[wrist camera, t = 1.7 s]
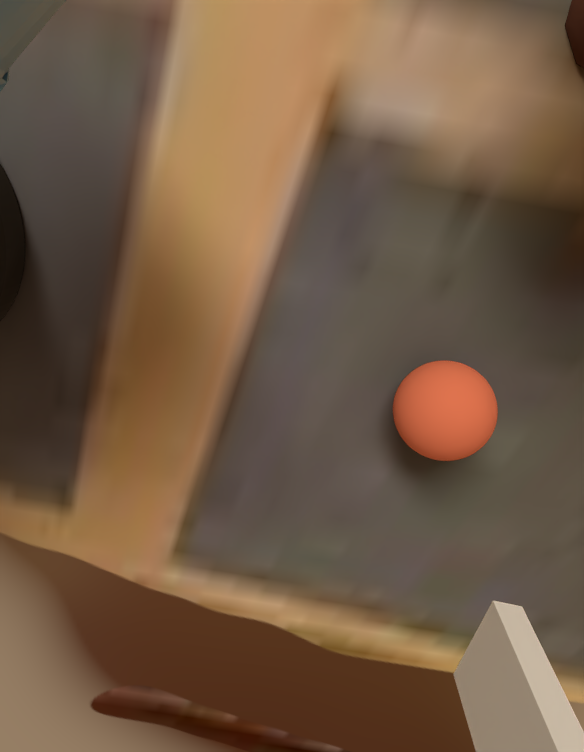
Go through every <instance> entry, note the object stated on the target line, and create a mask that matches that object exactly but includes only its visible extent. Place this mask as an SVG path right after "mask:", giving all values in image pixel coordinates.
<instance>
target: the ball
mask: <svg viewBox="0 0 584 752" xmlns="http://www.w3.org/2000/svg"><path fill="white" fill-rule="evenodd" d="M497 415H498V409H497V402H496V398H495V395H494V392H493V390H492V388H491V387H490V385H489V383H488V382H487V381H486V379H485V378H484V377H483V376H482V375H480V374H479V373H478V372H477V371H476V370H474V369H473V368H471V367H469V366H467V365H465V364H462V363H459V362H454V361H434V362H430V363H427V364H424V365H422V366H420V367H418V368H416V369H414V370H413V371H412V372H410V373H409V374H408V375H407V376H406V377H405V378H404V380H403V381H402V382H401V384H400V386H399V387H398V389H397V392H396V394H395V397H394V403H393V417H394V422H395V425H396V428H397V430H398V432H399V434H400V436H401V437H402V439H403V440H404V441H405V442H406V444H407V445H408V446H409V447H410V448H412V449H413V450H414V451H416V452H417V453H419V454H421V455H423V456H425V457H428V458H431V459H434V460H440V461H452V460H458V459H462V458H465V457H468V456H470V455H472V454H474V453H475V452H477V451H478V450H479V449H480V448H482V447H483V446H484V445H485V443H486V442H487V441H488V440H489V438H490V437H491V435H492V433H493V431H494V429H495V426H496V422H497Z"/></svg>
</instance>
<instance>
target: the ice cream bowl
mask: <svg viewBox="0 0 584 752" xmlns="http://www.w3.org/2000/svg"><path fill="white" fill-rule="evenodd" d="M565 27H566V30H567V34H568V37H569V40H570V44H571V47H572V50H573V54H574V57H575V60H576V63H577V64H578V65H580V66H582V67H583V68H584V0H572V2H571V6H570V9H569V13H568V17H567V20H566V24H565Z"/></svg>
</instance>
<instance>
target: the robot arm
mask: <svg viewBox="0 0 584 752" xmlns="http://www.w3.org/2000/svg"><path fill="white" fill-rule="evenodd" d="M65 1H66V0H0V91H1V90H2V89H3V87H4V86H5V85H6V83H7V82H8V80H9V67H10V66H11V65H12V64H13V63H14V61H15V60H16V59H17V58H18V57H19V55H20V54H21V53H22V52H23V51H24V49H25V48H26V47H27V46H28V45H29V43H30V42H31V41H32V40H33V39H34V38H35V36H36V35H37V34H38V33H39V32H40V30H41V29H42V28H43V27H44V26H45V24H46V23H47V22H48V21H49V20H50V18H51V17H52V16H53V15H54V14H55V12H56V11H57V10H58V9H59V8H60V7H61V6H62V4H63V3H64V2H65ZM24 260H25V240H24V231H23V224H22V219H21V214H20V210H19V207H18V203H17V200H16V198H15V195H14V192H13V189H12V187H11V185H10V182H9V180H8V178H7V176H6V174H5V172H4V170H3V168H2V166H1V164H0V320H1V319H2V318H3V317H4V315H5V314H6V313H7V311H8V310H9V308H10V307H11V305H12V303H13V301H14V299H15V297H16V294H17V292H18V289H19V286H20V283H21V279H22V275H23V269H24ZM454 678H455V681H456V684H457V688H458V691H459V695H460V698H461V702H462V705H463V709H464V712H465V715H466V719H467V722H468V726H469V729H470V733H471V736H472V740H473V743H474V747H475V750H476V752H584V732H583V730H582V728H581V726H580V724H579V722H578V720H577V718H576V716H575V713H574V711H573V710H572V708H571V705H570V703H569V701H568V699H567V697H566V695H565V693H564V691H563V689H562V687H561V685H560V683H559V681H558V679H557V677H556V675H555V673H554V671H553V669H552V667H551V665H550V663H549V661H548V659H547V656H546V654H545V652H544V650H543V648H542V646H541V644H540V642H539V640H538V638H537V636H536V634H535V632H534V630H533V628H532V626H531V624H530V622H529V620H528V618H527V616H526V614H525V612H524V610H523V608H522V606H517V605H512V604H507V603H502V602H497V601H492V603H491V605H490V607H489V609H488V611H487V613H486V615H485V616H484V618H483V620H482V622H481V624H480V626H479V628H478V629H477V631H476V633H475V635H474V637H473V639H472V641H471V642H470V644H469V646H468V648H467V650H466V652H465V654H464V656H463V657H462V659H461V661H460V663H459V665H458V667H457V669H456V670H455V672H454Z"/></svg>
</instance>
